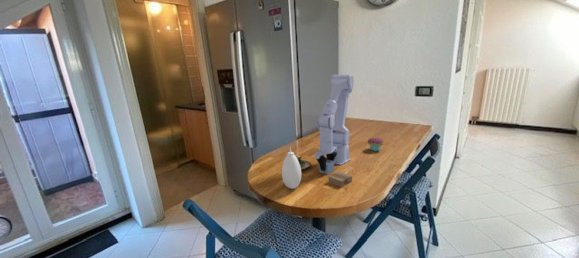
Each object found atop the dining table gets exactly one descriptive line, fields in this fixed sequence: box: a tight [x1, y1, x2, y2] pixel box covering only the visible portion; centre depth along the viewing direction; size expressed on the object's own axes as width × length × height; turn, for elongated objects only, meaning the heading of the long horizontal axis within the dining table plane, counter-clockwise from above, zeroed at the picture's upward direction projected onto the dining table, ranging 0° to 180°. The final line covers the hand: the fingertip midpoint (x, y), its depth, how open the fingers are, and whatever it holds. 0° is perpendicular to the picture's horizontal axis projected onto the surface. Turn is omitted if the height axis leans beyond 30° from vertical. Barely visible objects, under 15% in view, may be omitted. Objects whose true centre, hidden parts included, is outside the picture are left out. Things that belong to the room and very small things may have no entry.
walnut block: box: [328, 171, 353, 188], centre depth 107 cm, size 7×7×3 cm
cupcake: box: [367, 129, 385, 152], centre depth 143 cm, size 9×8×12 cm
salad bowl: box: [294, 152, 312, 171], centre depth 124 cm, size 12×12×8 cm
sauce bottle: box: [281, 146, 302, 190], centre depth 102 cm, size 8×8×18 cm
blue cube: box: [318, 159, 335, 176], centre depth 117 cm, size 5×5×5 cm
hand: (326, 168), depth 118 cm, fingers closed on blue cube, 5 cm apart
